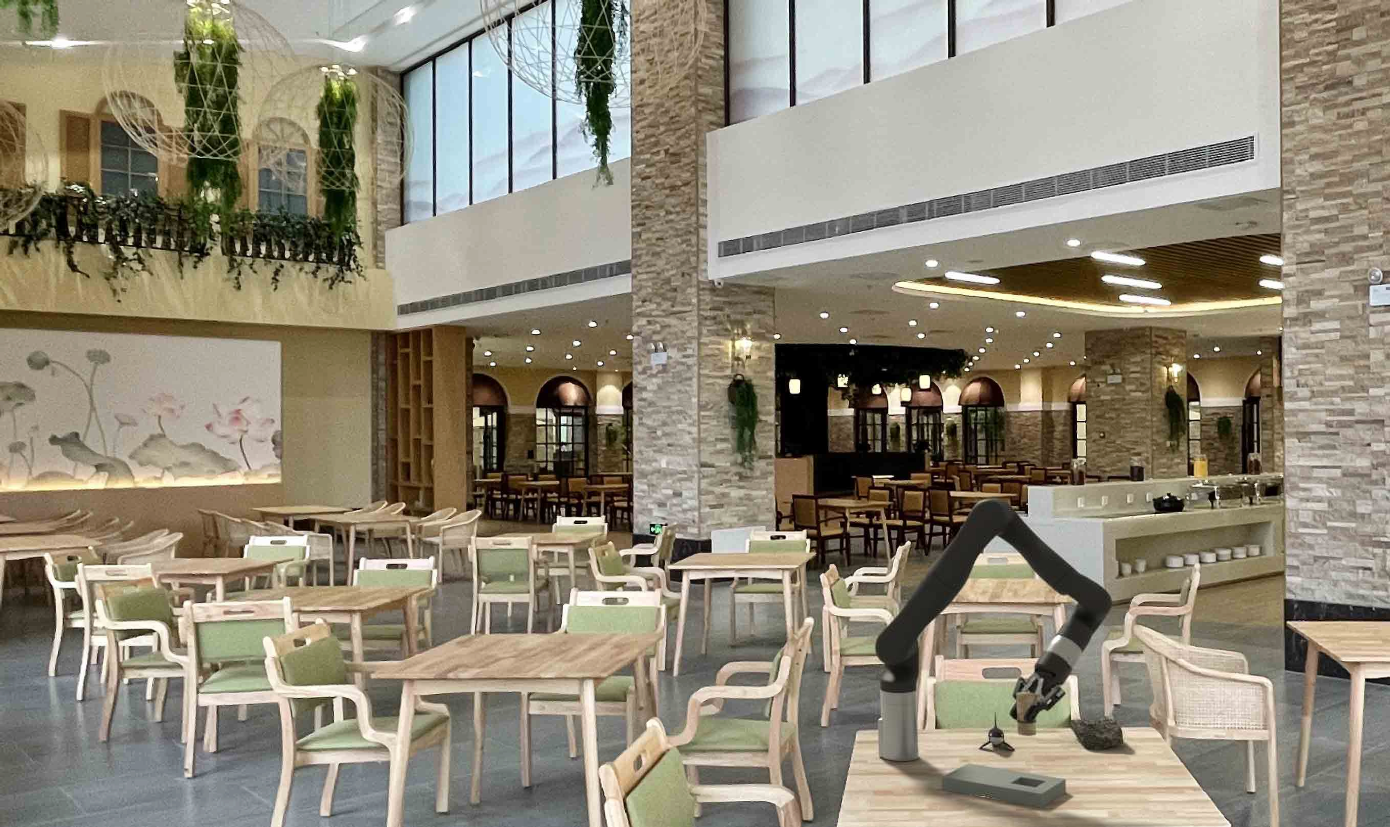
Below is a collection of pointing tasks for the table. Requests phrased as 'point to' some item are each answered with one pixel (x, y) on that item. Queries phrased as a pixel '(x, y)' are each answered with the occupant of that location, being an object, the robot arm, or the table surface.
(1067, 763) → the table surface
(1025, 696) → the peg
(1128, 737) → the table surface
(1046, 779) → the board
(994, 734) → the toy
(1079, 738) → the rock
